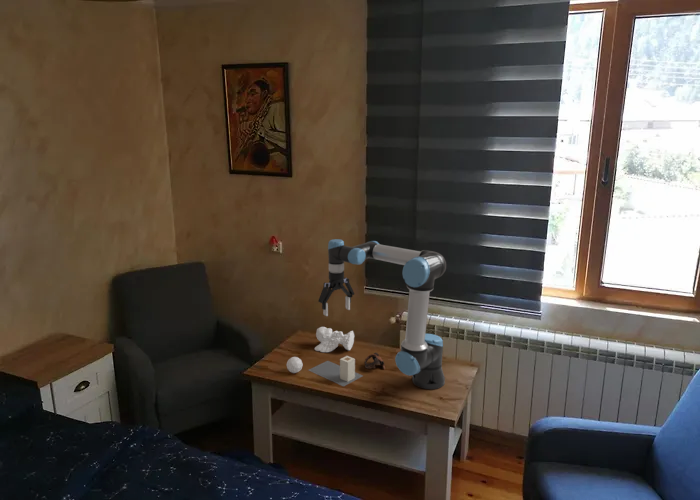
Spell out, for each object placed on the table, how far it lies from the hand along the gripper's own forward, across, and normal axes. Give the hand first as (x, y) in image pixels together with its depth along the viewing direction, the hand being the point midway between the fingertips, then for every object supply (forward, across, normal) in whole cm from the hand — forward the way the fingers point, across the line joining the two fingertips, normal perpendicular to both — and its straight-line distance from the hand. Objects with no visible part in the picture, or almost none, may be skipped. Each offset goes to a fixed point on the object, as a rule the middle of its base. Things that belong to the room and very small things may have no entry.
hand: (336, 312), depth 269 cm
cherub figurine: (+27, -8, -14) cm, 32 cm away
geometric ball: (+27, +23, -4) cm, 36 cm away
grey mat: (+27, +8, +9) cm, 30 cm away
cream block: (+27, +7, +17) cm, 32 cm away
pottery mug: (+28, -12, +16) cm, 34 cm away
